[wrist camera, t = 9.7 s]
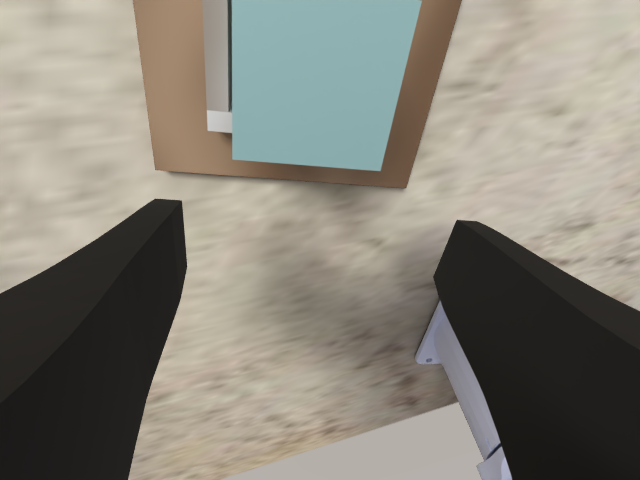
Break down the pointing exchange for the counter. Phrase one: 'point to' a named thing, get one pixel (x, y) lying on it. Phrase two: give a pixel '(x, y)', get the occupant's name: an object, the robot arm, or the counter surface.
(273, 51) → the square peg
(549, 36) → the counter surface
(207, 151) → the socket
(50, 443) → the robot arm
